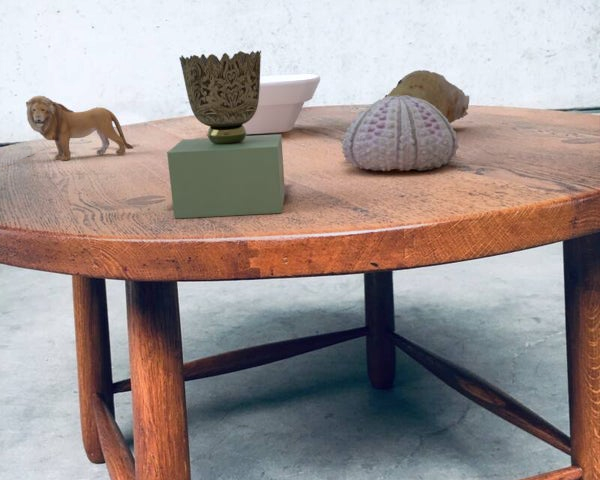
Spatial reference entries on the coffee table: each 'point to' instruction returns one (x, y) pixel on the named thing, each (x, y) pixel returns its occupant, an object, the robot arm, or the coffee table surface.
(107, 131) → the lion figurine
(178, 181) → the block
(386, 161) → the sea urchin shell
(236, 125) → the cup
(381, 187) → the coffee table surface
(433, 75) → the mineral
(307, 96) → the bowl
